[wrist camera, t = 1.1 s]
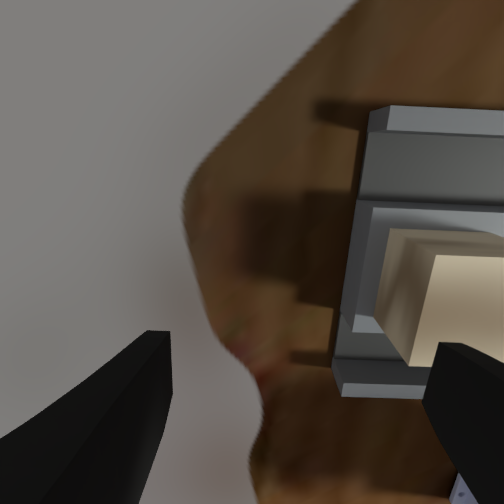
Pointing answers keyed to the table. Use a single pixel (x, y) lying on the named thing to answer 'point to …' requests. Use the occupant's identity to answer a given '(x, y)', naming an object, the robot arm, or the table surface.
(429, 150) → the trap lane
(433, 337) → the maple block
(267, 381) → the table surface
